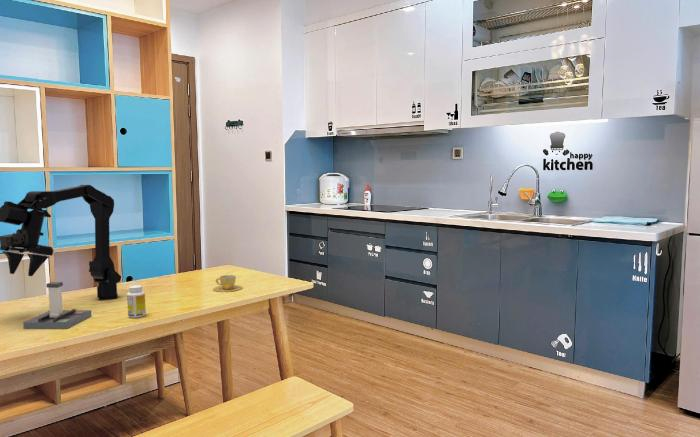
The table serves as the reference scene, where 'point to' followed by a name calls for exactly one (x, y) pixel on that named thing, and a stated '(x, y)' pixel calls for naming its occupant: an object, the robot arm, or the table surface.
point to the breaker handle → (55, 298)
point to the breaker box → (57, 320)
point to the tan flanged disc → (227, 283)
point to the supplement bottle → (136, 302)
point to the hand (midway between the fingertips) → (20, 275)
